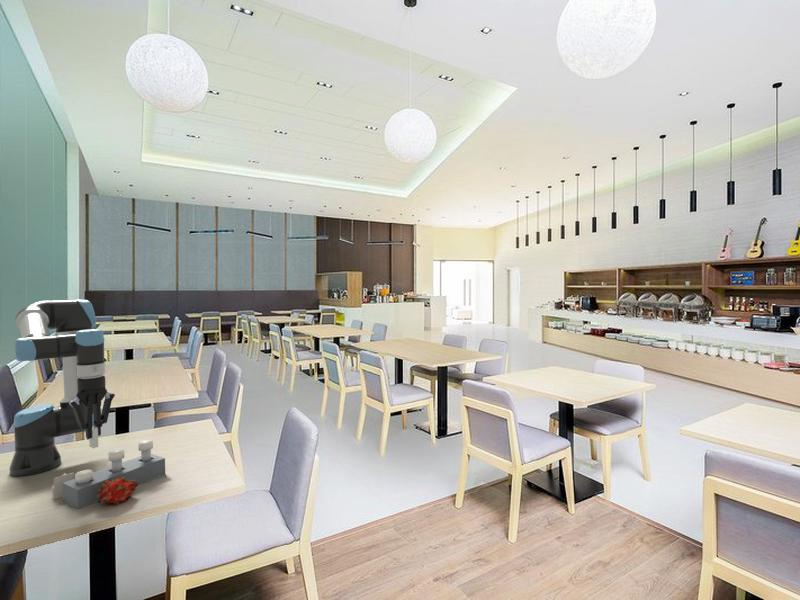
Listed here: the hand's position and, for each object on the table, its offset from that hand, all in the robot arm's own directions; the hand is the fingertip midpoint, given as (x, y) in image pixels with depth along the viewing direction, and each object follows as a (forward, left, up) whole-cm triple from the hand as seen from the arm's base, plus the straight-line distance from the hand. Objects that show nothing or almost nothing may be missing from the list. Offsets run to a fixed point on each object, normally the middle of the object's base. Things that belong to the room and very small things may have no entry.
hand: (94, 446), depth 142 cm
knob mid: (0, +7, -12) cm, 14 cm away
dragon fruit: (+11, +2, -17) cm, 20 cm away
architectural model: (-10, -5, -17) cm, 20 cm away
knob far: (0, +17, -12) cm, 21 cm away
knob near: (0, -3, -16) cm, 16 cm away
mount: (0, +7, -16) cm, 18 cm away
